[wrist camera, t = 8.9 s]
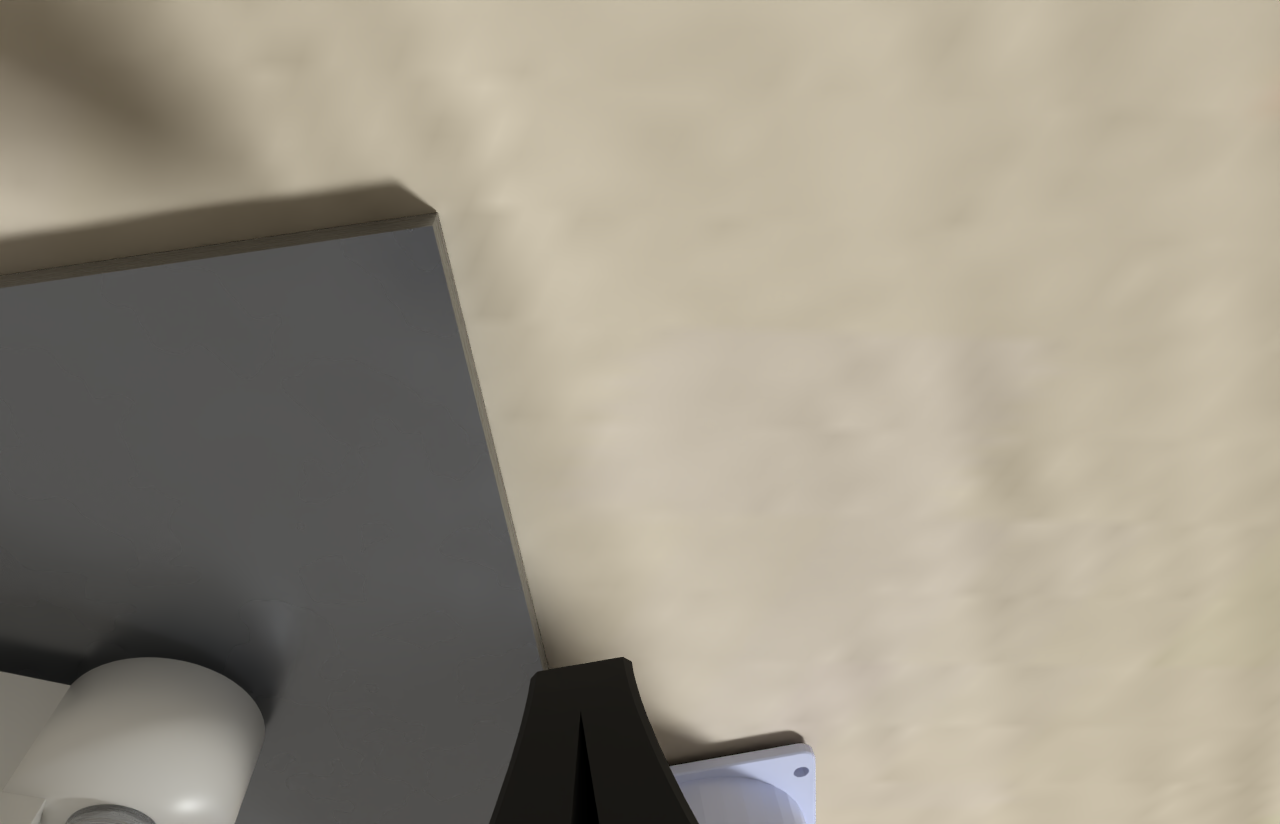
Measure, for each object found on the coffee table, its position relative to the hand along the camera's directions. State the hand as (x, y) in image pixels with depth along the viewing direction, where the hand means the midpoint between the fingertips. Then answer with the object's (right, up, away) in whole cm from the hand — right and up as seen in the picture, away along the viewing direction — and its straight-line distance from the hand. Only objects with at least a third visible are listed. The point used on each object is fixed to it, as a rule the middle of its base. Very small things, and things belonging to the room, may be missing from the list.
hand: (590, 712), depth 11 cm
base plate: (-12, -2, +10) cm, 16 cm away
